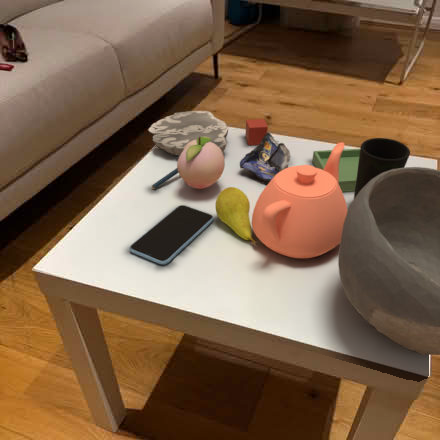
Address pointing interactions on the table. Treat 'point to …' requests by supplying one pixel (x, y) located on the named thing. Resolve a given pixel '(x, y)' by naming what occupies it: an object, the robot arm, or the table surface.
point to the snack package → (267, 158)
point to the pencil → (165, 179)
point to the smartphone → (171, 234)
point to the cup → (379, 159)
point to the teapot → (302, 210)
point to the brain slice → (188, 130)
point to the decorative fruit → (201, 163)
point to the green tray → (341, 166)
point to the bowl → (396, 256)
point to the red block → (255, 131)
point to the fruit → (235, 211)
